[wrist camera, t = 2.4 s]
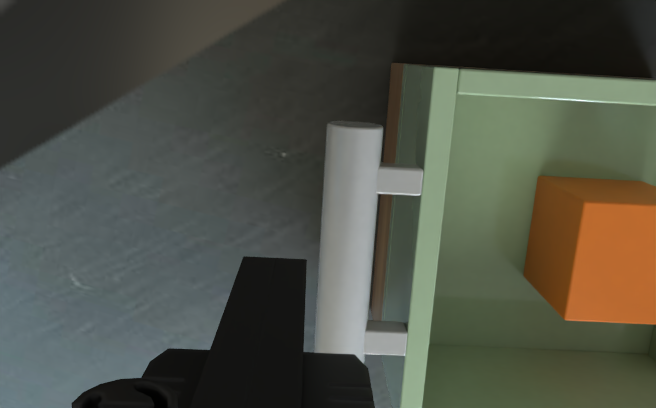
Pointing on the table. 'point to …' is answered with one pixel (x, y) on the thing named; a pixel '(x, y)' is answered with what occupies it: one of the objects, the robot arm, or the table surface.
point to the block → (594, 249)
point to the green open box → (480, 239)
